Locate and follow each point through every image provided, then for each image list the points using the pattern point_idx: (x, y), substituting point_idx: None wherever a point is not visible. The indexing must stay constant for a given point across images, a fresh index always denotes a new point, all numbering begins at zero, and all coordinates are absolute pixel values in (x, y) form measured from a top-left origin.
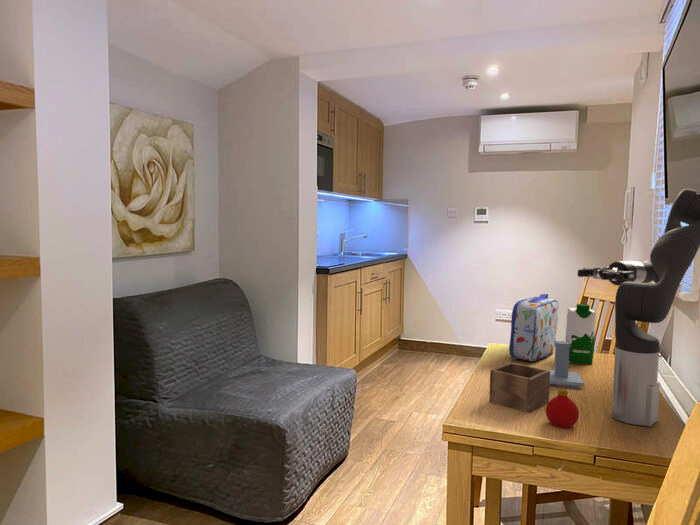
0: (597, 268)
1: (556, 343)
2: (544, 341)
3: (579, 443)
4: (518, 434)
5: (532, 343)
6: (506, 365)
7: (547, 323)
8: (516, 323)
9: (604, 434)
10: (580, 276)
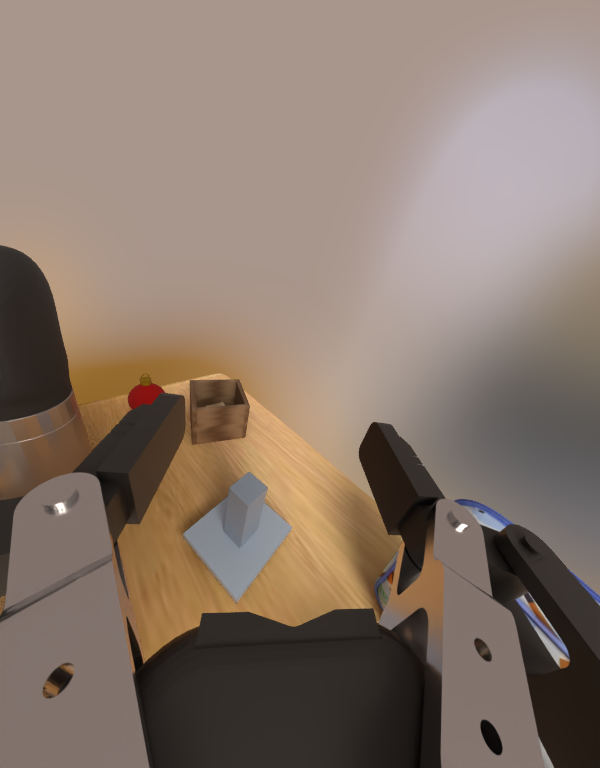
0: (436, 602)
1: (254, 478)
2: None
3: (119, 397)
4: (174, 384)
5: (385, 570)
6: (242, 396)
7: None
8: None
9: (98, 423)
10: (360, 458)
